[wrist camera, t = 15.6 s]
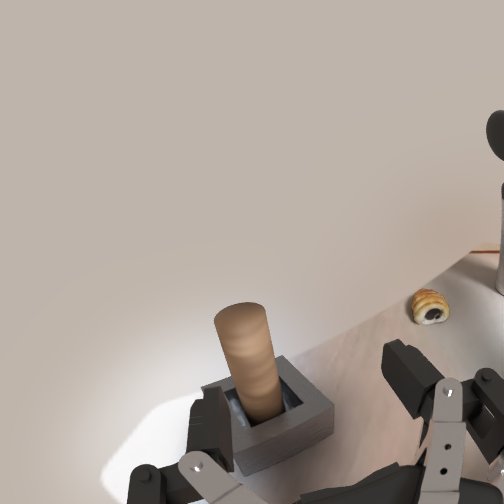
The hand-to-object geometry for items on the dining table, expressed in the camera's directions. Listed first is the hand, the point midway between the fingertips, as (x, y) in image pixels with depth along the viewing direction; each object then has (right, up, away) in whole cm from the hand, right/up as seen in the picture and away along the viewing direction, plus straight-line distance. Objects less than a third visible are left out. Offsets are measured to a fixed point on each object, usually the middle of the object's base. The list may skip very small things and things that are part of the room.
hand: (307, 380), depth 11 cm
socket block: (-1, -13, +13) cm, 19 cm away
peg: (-1, -12, +13) cm, 18 cm away
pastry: (+27, -5, +26) cm, 38 cm away
